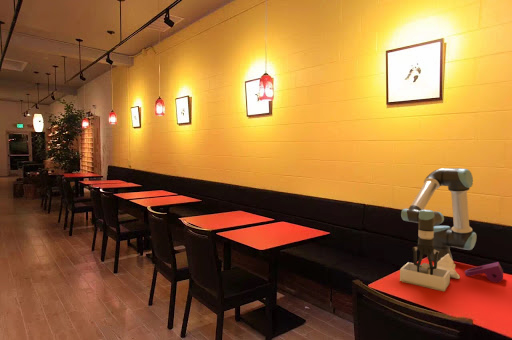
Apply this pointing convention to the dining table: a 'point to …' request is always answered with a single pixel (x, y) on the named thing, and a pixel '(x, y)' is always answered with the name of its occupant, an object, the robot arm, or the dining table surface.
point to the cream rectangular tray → (425, 277)
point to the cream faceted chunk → (448, 266)
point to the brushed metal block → (424, 268)
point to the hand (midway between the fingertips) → (424, 279)
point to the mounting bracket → (487, 271)
